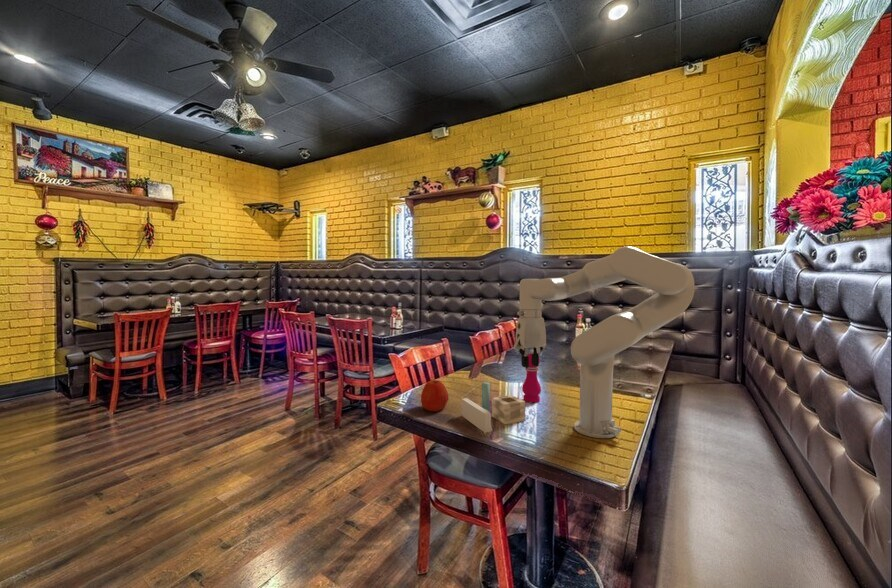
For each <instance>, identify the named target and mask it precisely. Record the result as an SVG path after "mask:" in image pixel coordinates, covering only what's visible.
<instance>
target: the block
mask: <svg viewBox="0 0 892 588" xmlns="http://www.w3.org/2000/svg"><path fill="white" fill-rule="evenodd" d="M491 406H492V407H491V418H494V419H495V420H498V422H500V423H502V424H503V425H505V424H506V425H511V424H515V423H520V421H521V422H525V421H526V402H525V401H524V400H523V399H521V398H519V397H517V396H514V395H513V394H508V395H502V396H496V397H495V396H494V397H492V399H491Z"/></svg>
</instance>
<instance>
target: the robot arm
mask: <svg viewBox="0 0 892 588" xmlns="http://www.w3.org/2000/svg"><path fill="white" fill-rule="evenodd" d="M624 281H629V282H632V283H634V284H636V285H639V286H642V287H644V288H646V289H648V290H651V291H654V292H655V293H654V294H653V295H651V296H650V297H648V298H646V299H644V300H643V301H642V302H640V303H638V304H636V305H635V306H633V307H631V308H629V309H627V310H626V311H623V312H620V313H616V314H613V315H611V316H609V317H607V318H605V319H603V320H601V321H599V322H598V323H596V324H595V325H593V326H591V327H590V328H589V329H588V328H587V329H586V330H585V331H583V332H581V333H580V334H579V335H577V336H575V338H574V339H573V341H572V342H571V345H570V354H571V357H572V358H573V360H574V361H575V362H576V363H577V364H579V365H580V367H579V368H580V369H579V370H580V371H579V420H577V421H575V422H574V423H573V428H574V430H575V431H576V432H577V433H578V434H581V435H583V436H585V437H590V438H595V439H611V438H614V437H618V436H620V433H621V432H622V428H621V427H619V426H616V419H613V387H614V386H613V383H614V366H615V365H614V363H615V355H618V354H619V353H621V352H622V351H625V350H626V349H627V348H630V347H632V346H633V345H635V344H637V343H638V342H639V341H640V340H641V339H643V338H645V337H646V336H647V335H650V334H651V333H653V332H655V331H657V330H658V329H660V328H662V327H663V326H666V325H667V324H669V323H671V322H672V321H673V320H675V319H677V318H678V317H679V316H681V315H682V314H683V313H684V312H685V311H686V310H687V309H688V307H689V306H690V304H691V303H692V300H693V298H694V296H695V287H696V286H695V285H696V284H695V278H694V275H693V273H692V271H691V270H690V269H689V267H687V266H686V265H683V264H681V263H677V262H676V263H675V262H672V261H670V260H668V259H666V258H665V259H664V258H661V257H659V256H656V255H653V254H650V253H647V252H645V251H644V250H642V249H640V248H638V247H634V246H629V245H627V246H622V247H619V248H618V249H615V250H614V251H613V252H612V254H610V255H607V256H604V257H601V258H599V259H595V260H593V261H589V262H587V263H586V264H585V265H584V266H583V267H582V268H581V269H579V270H577V271H575V272H573V273H570V274H567V275H564V276H560V277H546V278H523V279H521V280H519V311H517V313H516V315H517V316H519V318H518V319H517V322H516V328H515V329H516V330H515V343H514V345H513V349H514V350H515V351H517V352H518V353H519V355H520V356H521V367H523V368H528V367H529V356H527V354H529V349H531V348H532V350H533V354H532V365H533V366H536V367H538V368H539V365H540V363H539V359H540V355H541V352H542V351H543V350H544V349H545V348H546V347H548V346H547V345H548V344H547V332H546V323H545V320H544V317H542V314H543V313H542V308H543V307H542V303H543V301H547V302H548V301H549V302H551V301H560V300H564V299H568V298H570V297H574V296H577V295H581V294H583V293H586V292H590V291H594V290H597V289H600V288H604V287H607V286H609V285H613V284H616V283H619V282H624Z"/></svg>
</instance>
